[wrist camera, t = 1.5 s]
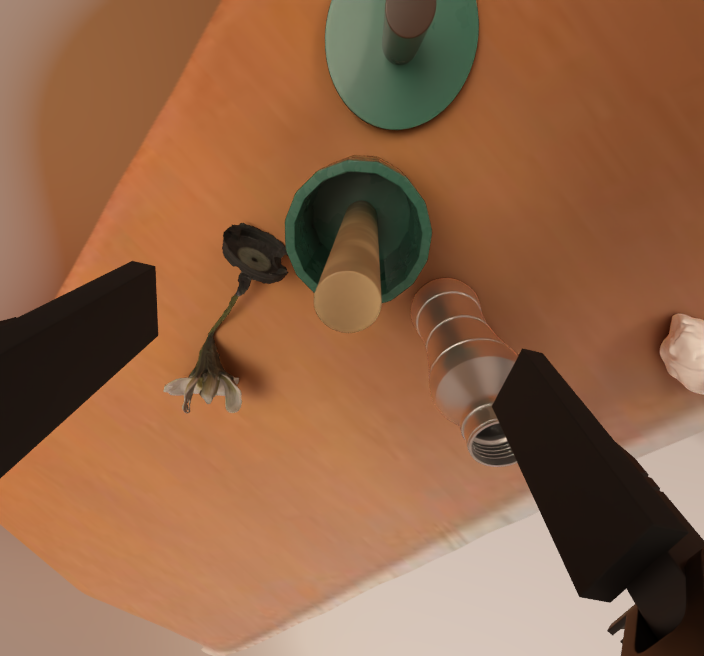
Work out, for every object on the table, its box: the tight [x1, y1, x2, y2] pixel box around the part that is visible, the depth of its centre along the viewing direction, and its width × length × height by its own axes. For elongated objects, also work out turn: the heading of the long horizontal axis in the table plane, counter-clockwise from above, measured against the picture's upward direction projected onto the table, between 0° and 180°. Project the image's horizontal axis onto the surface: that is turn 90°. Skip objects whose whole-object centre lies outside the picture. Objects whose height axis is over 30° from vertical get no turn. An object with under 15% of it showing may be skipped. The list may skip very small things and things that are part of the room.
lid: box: [325, 0, 479, 130], centre depth 23 cm, size 11×11×9 cm
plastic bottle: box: [411, 278, 518, 467], centre depth 28 cm, size 6×7×20 cm
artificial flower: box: [164, 223, 288, 413], centre depth 37 cm, size 9×22×10 cm, turn 147°
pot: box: [285, 155, 432, 303], centre depth 29 cm, size 10×10×10 cm
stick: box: [314, 201, 382, 333], centre depth 24 cm, size 3×3×20 cm
